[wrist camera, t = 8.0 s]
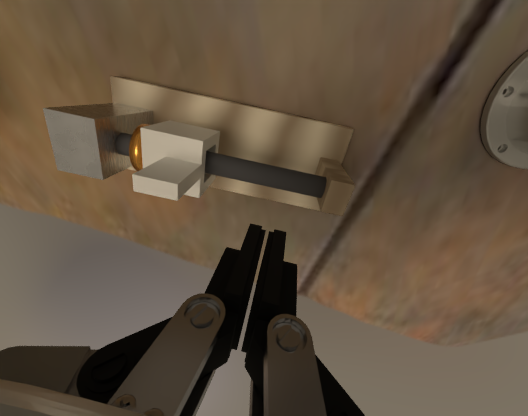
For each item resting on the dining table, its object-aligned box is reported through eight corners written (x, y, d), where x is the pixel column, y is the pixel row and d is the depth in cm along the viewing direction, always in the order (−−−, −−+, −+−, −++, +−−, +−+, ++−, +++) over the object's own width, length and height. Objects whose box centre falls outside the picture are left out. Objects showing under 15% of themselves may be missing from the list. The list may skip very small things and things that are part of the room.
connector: (179, 116, 25) (132, 127, 17) (179, 160, 27) (137, 187, 20) (117, 102, 25) (42, 107, 17) (121, 148, 27) (57, 169, 20)
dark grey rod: (324, 174, 22) (327, 181, 20) (318, 193, 23) (320, 201, 21) (107, 126, 22) (91, 129, 20) (110, 147, 23) (95, 152, 21)
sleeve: (220, 131, 22) (178, 155, 14) (215, 178, 25) (177, 224, 16) (169, 120, 22) (97, 137, 14) (169, 168, 25) (107, 209, 16)
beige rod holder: (350, 127, 25) (379, 144, 17) (322, 206, 30) (334, 248, 22) (119, 76, 25) (40, 69, 17) (127, 163, 30) (67, 190, 22)
